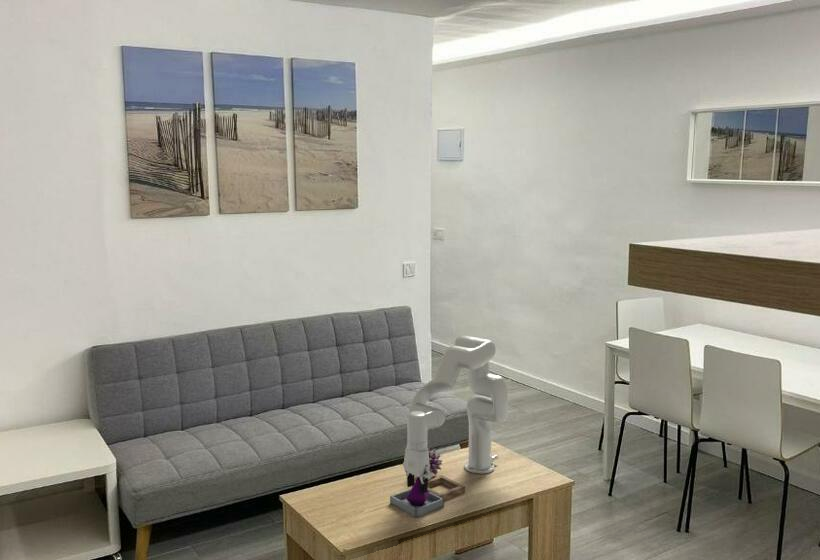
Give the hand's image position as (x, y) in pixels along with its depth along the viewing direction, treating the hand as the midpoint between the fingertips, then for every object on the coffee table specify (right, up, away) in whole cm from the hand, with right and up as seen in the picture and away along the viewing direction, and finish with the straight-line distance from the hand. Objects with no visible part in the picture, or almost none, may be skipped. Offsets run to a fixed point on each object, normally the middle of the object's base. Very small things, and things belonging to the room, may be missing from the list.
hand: (417, 488), depth 280 cm
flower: (+5, -3, +27) cm, 28 cm away
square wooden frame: (+9, -5, +13) cm, 16 cm away
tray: (0, -6, +1) cm, 6 cm away
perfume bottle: (0, -6, +1) cm, 6 cm away
